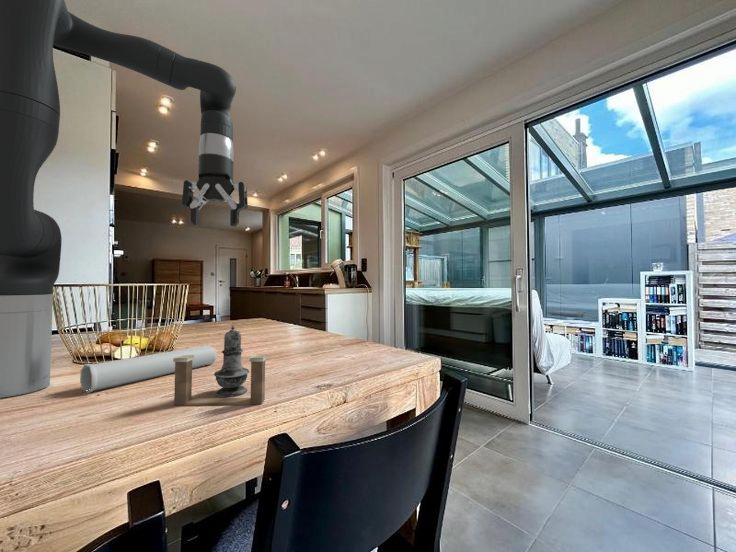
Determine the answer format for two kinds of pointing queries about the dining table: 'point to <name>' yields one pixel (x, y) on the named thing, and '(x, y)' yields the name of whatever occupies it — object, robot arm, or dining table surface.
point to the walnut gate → (185, 390)
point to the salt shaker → (231, 367)
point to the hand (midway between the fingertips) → (215, 226)
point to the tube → (140, 368)
